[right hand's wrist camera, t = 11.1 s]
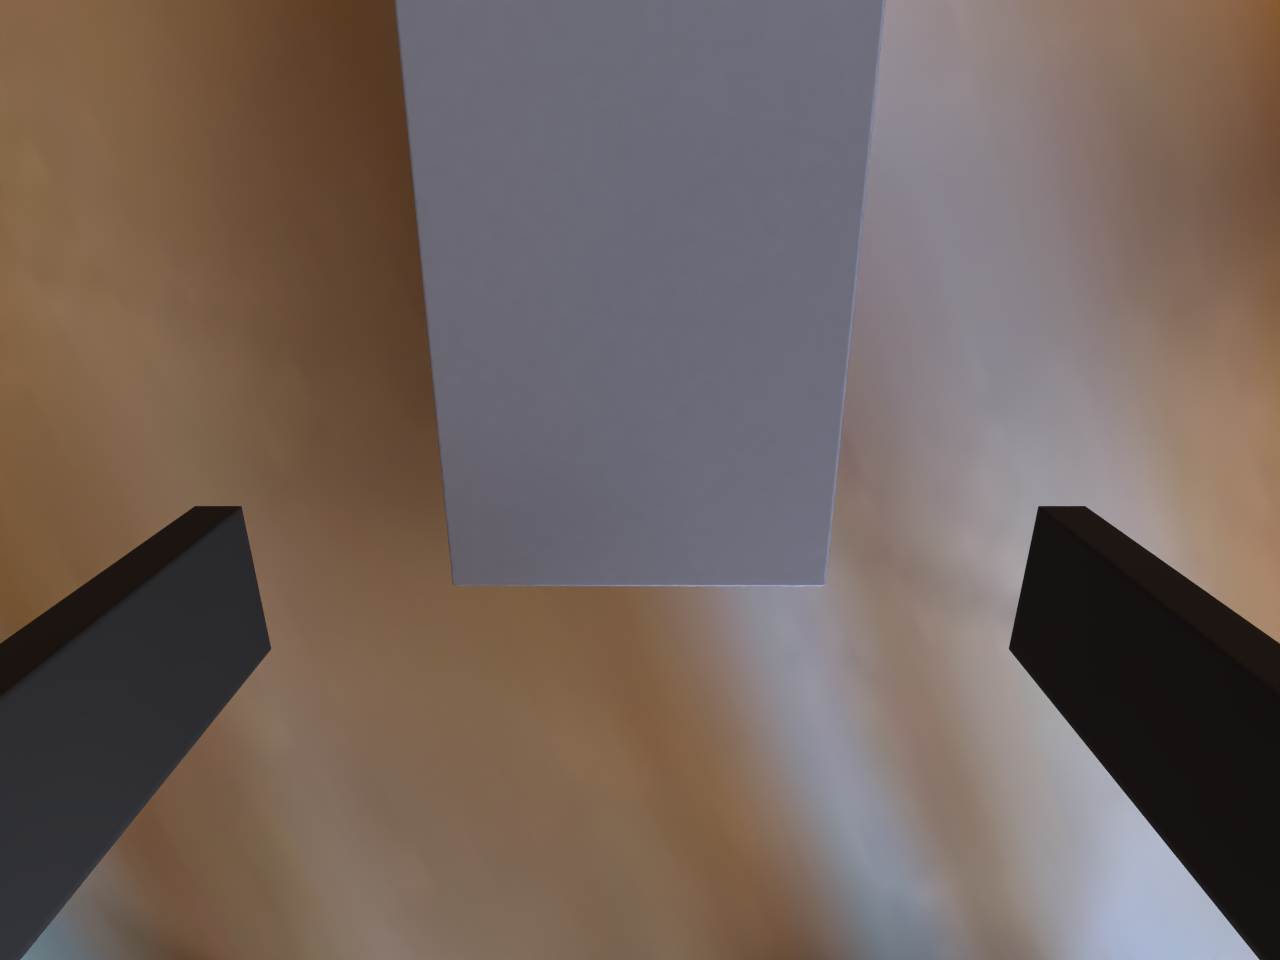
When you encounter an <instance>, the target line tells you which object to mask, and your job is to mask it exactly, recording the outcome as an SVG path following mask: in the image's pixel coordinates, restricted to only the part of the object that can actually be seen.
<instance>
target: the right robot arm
mask: <svg viewBox="0 0 1280 960" xmlns="http://www.w3.org/2000/svg"><path fill="white" fill-rule="evenodd" d="M270 650H271V646H270V641H269V636H268V632H267V627H266V622H265V617H264V612H263V608H262V603H261V598H260V593H259V588H258V584H257V579H256V574H255V569H254V564H253V559H252V555H251V550H250V545H249V540H248V535H247V531H246V526H245V521H244V516H243V511H242V507H241V506H195V507H193V508H192V509H190V510H189V511H188V512H186V513H185V514H183V515H182V516H180V517H179V518H178V519H176V520H175V521H173V522H172V523H171V524H169V525H168V526H166V527H165V528H163V529H162V530H161V531H159V532H158V533H156V534H155V535H154V536H152V537H151V538H149V539H148V540H147V541H145V542H144V543H142V544H141V545H139V546H138V547H137V548H135V549H134V550H132V551H131V552H130V553H128V554H127V555H125V556H124V557H122V558H121V559H120V560H118V561H117V562H115V563H114V564H113V565H111V566H110V567H108V568H107V569H105V570H104V571H103V572H101V573H100V574H98V575H97V576H96V577H94V578H93V579H91V580H90V581H88V582H87V583H86V584H84V585H83V586H81V587H80V588H79V589H77V590H76V591H74V592H73V593H71V594H70V595H69V596H67V597H66V598H64V599H63V600H62V601H60V602H59V603H57V604H56V605H54V606H53V607H52V608H50V609H49V610H47V611H46V612H45V613H43V614H42V615H40V616H39V617H37V618H36V619H35V620H33V621H32V622H30V623H29V624H28V625H26V626H25V627H23V628H22V629H20V630H19V631H18V632H16V633H15V634H13V635H12V636H11V637H9V638H8V639H6V640H5V641H4V642H2V643H1V644H0V960H20V959H21V958H22V957H23V956H24V955H25V953H26V952H27V951H28V950H29V948H30V947H31V946H32V945H33V943H34V942H35V941H36V940H37V938H38V937H39V936H40V935H41V933H42V932H43V931H44V930H45V929H46V927H47V926H48V925H49V924H50V922H51V921H52V920H53V919H54V917H55V916H56V915H57V914H58V912H59V911H60V910H61V909H62V907H63V906H64V905H65V904H66V902H67V901H68V900H69V899H70V898H71V896H72V895H73V894H74V893H75V891H76V890H77V889H78V888H79V886H80V885H81V884H82V883H83V881H84V880H85V879H86V878H87V876H88V875H89V874H90V873H91V872H92V870H93V869H94V868H95V867H96V865H97V864H98V863H99V862H100V860H101V859H102V858H103V857H104V855H105V854H106V853H107V852H108V850H109V849H110V848H111V847H112V845H113V844H114V843H115V842H116V841H117V839H118V838H119V837H120V836H121V834H122V833H123V832H124V831H125V829H126V828H127V827H128V826H129V824H130V823H131V822H132V821H133V819H134V818H135V817H136V816H137V815H138V813H139V812H140V811H141V810H142V808H143V807H144V806H145V805H146V803H147V802H148V801H149V800H150V798H151V797H152V796H153V795H154V793H155V792H156V791H157V790H158V788H159V787H160V786H161V785H162V784H163V782H164V781H165V780H166V779H167V777H168V776H169V775H170V774H171V772H172V771H173V770H174V769H175V767H176V766H177V765H178V764H179V762H180V761H181V760H182V759H183V758H184V756H185V755H186V754H187V753H188V751H189V750H190V749H191V748H192V746H193V745H194V744H195V743H196V741H197V740H198V739H199V738H200V736H201V735H202V734H203V733H204V732H205V730H206V729H207V728H208V727H209V725H210V724H211V723H212V722H213V720H214V719H215V718H216V717H217V715H218V714H219V713H220V712H221V710H222V709H223V708H224V707H225V705H226V704H227V703H228V702H229V701H230V699H231V698H232V697H233V696H234V694H235V693H236V692H237V691H238V689H239V688H240V687H241V686H242V684H243V683H244V682H245V681H246V679H247V678H248V677H249V676H250V675H251V673H252V672H253V671H254V670H255V668H256V667H257V666H258V665H259V663H260V662H261V661H262V660H263V658H264V657H265V656H266V655H267V653H268V652H269V651H270ZM1009 650H1010V651H1011V652H1012V653H1013V655H1014V656H1015V657H1016V658H1017V660H1018V661H1019V662H1020V663H1021V665H1022V666H1023V667H1024V668H1025V670H1026V671H1027V672H1028V673H1029V675H1030V676H1031V677H1032V678H1033V679H1034V681H1035V682H1036V683H1037V684H1038V686H1039V687H1040V688H1041V689H1042V691H1043V692H1044V693H1045V694H1046V696H1047V697H1048V698H1049V699H1050V701H1051V702H1052V703H1053V704H1054V705H1055V707H1056V708H1057V709H1058V710H1059V712H1060V713H1061V714H1062V715H1063V717H1064V718H1065V719H1066V720H1067V722H1068V723H1069V724H1070V725H1071V727H1072V728H1073V729H1074V730H1075V732H1076V733H1077V734H1078V735H1079V736H1080V738H1081V739H1082V740H1083V741H1084V743H1085V744H1086V745H1087V746H1088V748H1089V749H1090V750H1091V751H1092V753H1093V754H1094V755H1095V756H1096V758H1097V759H1098V760H1099V761H1100V762H1101V764H1102V765H1103V766H1104V767H1105V769H1106V770H1107V771H1108V772H1109V774H1110V775H1111V776H1112V777H1113V779H1114V780H1115V781H1116V782H1117V784H1118V785H1119V786H1120V787H1121V788H1122V790H1123V791H1124V792H1125V793H1126V795H1127V796H1128V797H1129V798H1130V800H1131V801H1132V802H1133V803H1134V805H1135V806H1136V807H1137V808H1138V810H1139V811H1140V812H1141V813H1142V815H1143V816H1144V817H1145V818H1146V819H1147V821H1148V822H1149V823H1150V824H1151V826H1152V827H1153V828H1154V829H1155V831H1156V832H1157V833H1158V834H1159V836H1160V837H1161V838H1162V839H1163V841H1164V842H1165V843H1166V844H1167V845H1168V847H1169V848H1170V849H1171V850H1172V852H1173V853H1174V854H1175V855H1176V857H1177V858H1178V859H1179V860H1180V862H1181V863H1182V864H1183V865H1184V867H1185V868H1186V869H1187V870H1188V872H1189V873H1190V874H1191V875H1192V876H1193V878H1194V879H1195V880H1196V881H1197V883H1198V884H1199V885H1200V886H1201V888H1202V889H1203V890H1204V891H1205V893H1206V894H1207V895H1208V896H1209V898H1210V899H1211V900H1212V901H1213V902H1214V904H1215V905H1216V906H1217V907H1218V909H1219V910H1220V911H1221V912H1222V914H1223V915H1224V916H1225V917H1226V919H1227V920H1228V921H1229V922H1230V924H1231V925H1232V926H1233V927H1234V929H1235V930H1236V931H1237V932H1238V933H1239V935H1240V936H1241V937H1242V938H1243V940H1244V941H1245V942H1246V943H1247V945H1248V946H1249V947H1250V948H1251V950H1252V951H1253V952H1254V953H1255V955H1256V956H1257V957H1258V958H1259V959H1260V960H1280V644H1279V643H1278V642H1276V641H1275V640H1274V639H1272V638H1271V637H1269V636H1268V635H1267V634H1265V633H1264V632H1262V631H1261V630H1260V629H1258V628H1257V627H1255V626H1254V625H1252V624H1251V623H1250V622H1248V621H1247V620H1245V619H1244V618H1243V617H1241V616H1240V615H1238V614H1237V613H1235V612H1234V611H1233V610H1231V609H1230V608H1228V607H1227V606H1226V605H1224V604H1223V603H1221V602H1220V601H1218V600H1217V599H1216V598H1214V597H1213V596H1211V595H1210V594H1209V593H1207V592H1206V591H1204V590H1203V589H1201V588H1200V587H1199V586H1197V585H1196V584H1194V583H1193V582H1192V581H1190V580H1189V579H1187V578H1186V577H1184V576H1183V575H1182V574H1180V573H1179V572H1177V571H1176V570H1175V569H1173V568H1172V567H1170V566H1169V565H1167V564H1166V563H1165V562H1163V561H1162V560H1160V559H1159V558H1158V557H1156V556H1155V555H1153V554H1152V553H1150V552H1149V551H1148V550H1146V549H1145V548H1143V547H1142V546H1141V545H1139V544H1138V543H1136V542H1135V541H1133V540H1132V539H1131V538H1129V537H1128V536H1126V535H1125V534H1124V533H1122V532H1121V531H1119V530H1118V529H1117V528H1115V527H1114V526H1112V525H1111V524H1109V523H1108V522H1107V521H1105V520H1104V519H1102V518H1101V517H1100V516H1098V515H1097V514H1095V513H1094V512H1092V511H1091V510H1090V509H1088V508H1087V507H1085V506H1039V507H1038V511H1037V516H1036V521H1035V526H1034V531H1033V535H1032V540H1031V545H1030V550H1029V555H1028V559H1027V564H1026V569H1025V574H1024V579H1023V584H1022V588H1021V593H1020V598H1019V603H1018V608H1017V612H1016V617H1015V622H1014V627H1013V632H1012V636H1011V641H1010V646H1009Z"/></svg>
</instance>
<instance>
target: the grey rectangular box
mask: <svg viewBox="0 0 1280 960" xmlns="http://www.w3.org/2000/svg"><path fill="white" fill-rule="evenodd" d="M394 2H395V12H396V22H397V32H398V42H399V52H400V62H401V72H402V82H403V92H404V102H405V112H406V122H407V132H408V142H409V152H410V162H411V172H412V182H413V192H414V202H415V212H416V222H417V232H418V242H419V252H420V262H421V272H422V282H423V292H424V302H425V312H426V322H427V332H428V342H429V352H430V363H431V373H432V383H433V393H434V403H435V413H436V423H437V433H438V443H439V453H440V463H441V473H442V483H443V493H444V503H445V513H446V523H447V533H448V543H449V553H450V563H451V573H452V583H453V585H454V586H825V584H826V576H827V566H828V556H829V546H830V537H831V527H832V517H833V507H834V497H835V488H836V478H837V468H838V458H839V449H840V439H841V429H842V419H843V409H844V400H845V390H846V380H847V370H848V361H849V351H850V341H851V331H852V321H853V312H854V302H855V292H856V282H857V273H858V263H859V253H860V243H861V233H862V224H863V214H864V204H865V194H866V185H867V175H868V165H869V155H870V145H871V136H872V126H873V116H874V106H875V97H876V87H877V77H878V67H879V57H880V48H881V38H882V28H883V18H884V9H885V0H394Z"/></svg>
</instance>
